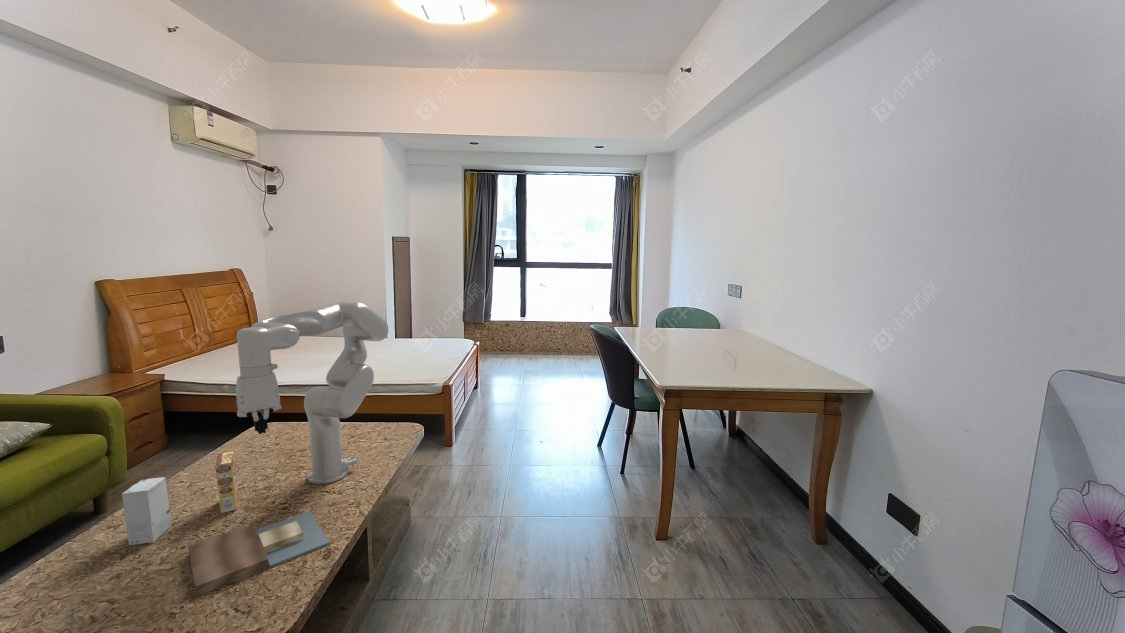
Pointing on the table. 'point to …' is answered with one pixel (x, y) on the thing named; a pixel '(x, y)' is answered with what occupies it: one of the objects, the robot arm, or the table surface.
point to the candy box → (226, 482)
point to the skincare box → (146, 510)
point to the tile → (280, 536)
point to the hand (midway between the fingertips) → (261, 432)
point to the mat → (310, 542)
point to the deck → (226, 559)
